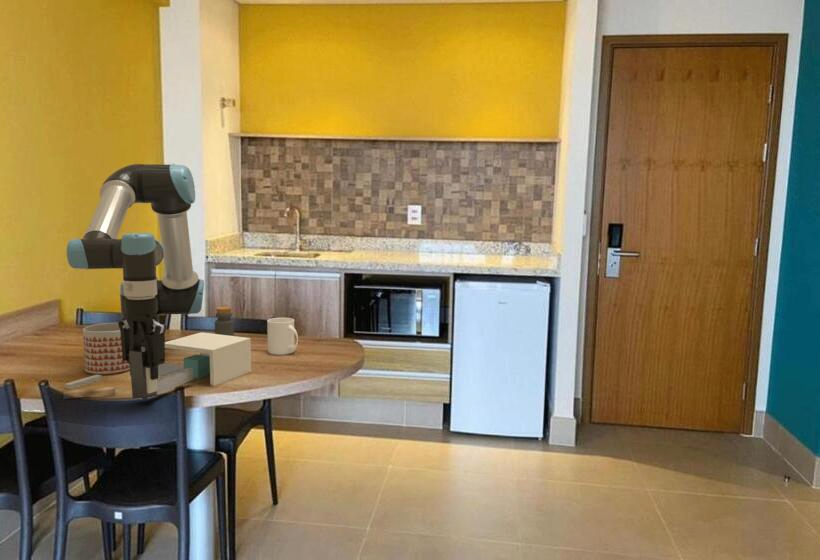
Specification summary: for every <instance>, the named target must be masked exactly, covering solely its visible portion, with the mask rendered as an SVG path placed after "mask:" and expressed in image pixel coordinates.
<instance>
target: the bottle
mask: <svg viewBox="0 0 820 560" xmlns="http://www.w3.org/2000/svg"><path fill="white" fill-rule="evenodd" d="M215 309H216V313H215V317H216V318H217V320H215V321H214V334H220V335H228V336H235V332H234V331H235V329H234V320H233V319H232V318H231V317H233V312H231V311H232V306H218V307H216V308H215Z"/></svg>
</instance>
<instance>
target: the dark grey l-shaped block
mask: <svg viewBox="0 0 820 560" xmlns="http://www.w3.org/2000/svg"><path fill="white" fill-rule="evenodd" d="M129 354H130V369H131V375H130V378H131V379H130V380H131V394H132V395H131V396H132V399H134V398H142V399H143V400H142V401H146V399H147V398H148V397H152V396H155V397H157V396H158V394H160V393H163V392H165V391H168V390H171V389H172V388H175V387H177V386H181V385H183V384H185V383H187V382H190V381H191V380H193V379H194V375H193V368H185V369H182V370H180V371H177V372H174V373H171V374H169V375H166V376H159V377H158V379H157V391H155V392H152V393H149V394H148V393H147V386H146V366H147V365H148V362H147V356H146V351H145V347H140V348H136V349H133V350H130V351H129ZM153 361H154V360H153ZM191 382H192V381H191ZM152 398H153V397H152ZM147 400H148V399H147Z"/></svg>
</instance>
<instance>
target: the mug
mask: <svg viewBox="0 0 820 560" xmlns="http://www.w3.org/2000/svg"><path fill="white" fill-rule="evenodd" d="M266 323H267V326H266V327H267V328H266V329H267V330H266V331H267V332H266V333H267V351H268V353H269V354H270V355H273V356H274V355H276V356H283V355H284V356H285V355H291V354H292V353H294V352H295V350H296V348H297V347H298V344H299V343H298V342H299V336H298V332H297V330H296V328H295V319H294V318H291V317H275V318H274V317H273V318H269V319H267V322H266ZM295 337H296V342H295Z"/></svg>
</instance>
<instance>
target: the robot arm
mask: <svg viewBox="0 0 820 560" xmlns="http://www.w3.org/2000/svg"><path fill="white" fill-rule="evenodd" d="M195 188H196V187H195V182H194V177H193V174H192V171H191V169H190V168H189V167H188V166H187V165H183V164H174V163H171V164H161V163H160V164H156V163H155V164H154V163H153V164H150V163H149V164H147V163H146V164H145V163H133V164H129V165H126V166H124V167H121V168H119V169H117V170H116V171H114V172H113V173H111V174H110V175H109V176H108V177H107V178H106V179H105V180H104V181H103V183H102V185H101V187H100V189H99V196H100V197H99V198H100V199H99V202H98V203H97V206H96V208H95V210H94V212H93V215H92V217H91V220H90V222H89V223H88V226H87V229H86V230H85V233H84V235H83V237H82V238H80V237H79V238H73V239H70V240H69V241H68V242H67V245H66V260H67V263H68V265H69V266H70V268H72V269H76V270H77V269H79V270H82V269H83V270H104V269H105V270H107V269H109V270H110V269H122V282H121V283H120V287H119V288H120V290H119V293H120V294H119V296H120V299H119V300H120V312H121V313H120V314H121V321H118V322H117V323H118V325H119V328H120V332H121V345H122V358H123V360H124V361H127V362H128V363H129V364H130V354H129V351H130V350H133V349H136V348H140V347H145V351H146V356H147V362H148V365H147V366H146V386H147V393H148V394H149V393H152V392H155V391H157V379H158V378H159V376H158V366H159V365H160V364H163V363H165V362H166V348H165V342H166V337H165V335H166V331H167V325H166V324H165V323H163V324H162V323H160V317H159V316H160V315H190V314H191V315H192V314H194V315H195V314H199V313H200V312H201V310H202V306H203V302H204V301H203V299H204V289H205V288H204V287H205V281H204V279H201V278H199V273H197V272H196V271H194V267H193V260H192V250H191V241H190V230H189V223H188V222H189V221H188V214H187V213H188V211H189V210H190V209H191V207H192V204H195V202H196V189H195ZM134 204H150V206H151V207H150V208H151V210H152V211H153V212H154V213H155V214H157V218H158V226H159V227H158V228H159V234H160V241H159V240H158V239H156V238H155V235H154V234H153V233H152V232H151V233H150V232H130V233H129V232H128V233H124V234H122V236H121V238H118V237H119V236H118V235H119V234H120V230H121V227H122V225H123V222H124V220H125V218H126V214H127V212H128V210H129V209H130V208H131V207H132V206H133V205H134ZM162 261H163V262H164V270H165V273H164V275H163V276H162V278H161V279H159V278H158V277H157V266H159V265H160V264H161V262H162ZM158 279H159V280H158ZM127 354H128V355H127ZM153 360H154V361H153ZM129 373H130V374H129V376H131V369H130V371H129Z"/></svg>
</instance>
